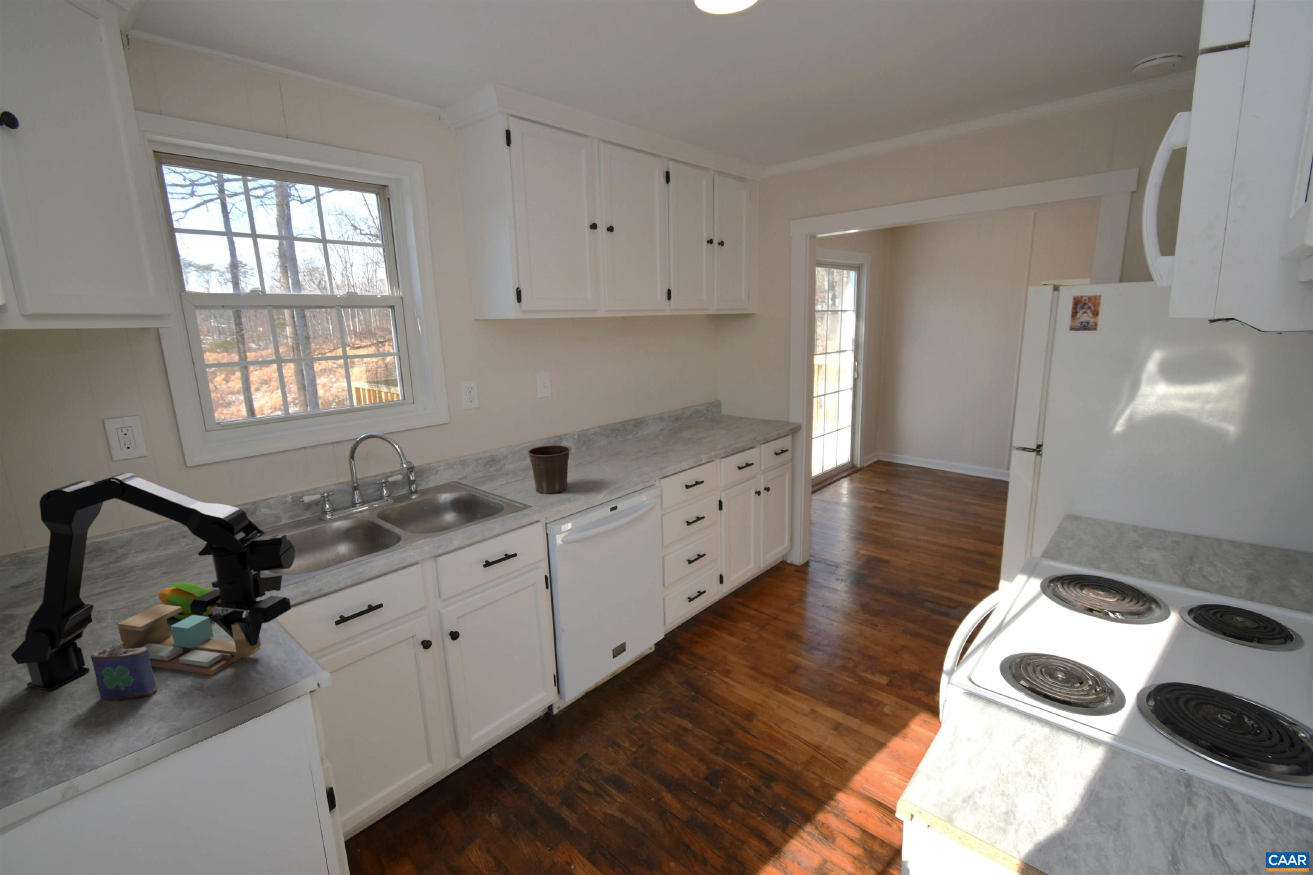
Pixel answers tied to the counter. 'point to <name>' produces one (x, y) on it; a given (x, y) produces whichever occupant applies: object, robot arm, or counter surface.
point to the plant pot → (550, 468)
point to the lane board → (163, 639)
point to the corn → (183, 598)
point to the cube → (192, 631)
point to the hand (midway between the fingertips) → (248, 643)
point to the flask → (123, 673)
